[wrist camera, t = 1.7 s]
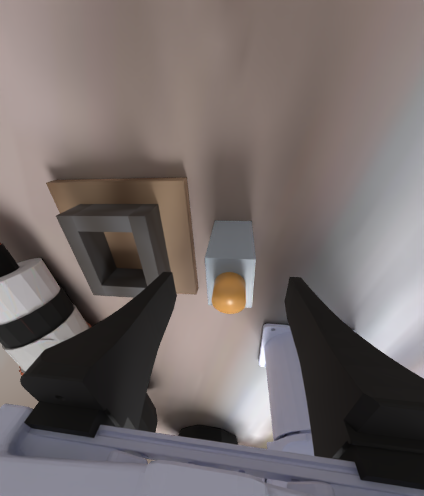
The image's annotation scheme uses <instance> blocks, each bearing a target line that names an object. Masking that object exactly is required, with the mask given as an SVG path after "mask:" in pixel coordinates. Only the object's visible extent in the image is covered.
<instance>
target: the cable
mask: <svg viewBox="0 0 424 496" xmlns="http://www.w3.org/2000/svg"><path fill="white" fill-rule="evenodd" d="M90 327H91V325H90V324H88V323H87V322H85V320H84V319H83V317H82V316H81V314H80V312H79V311H78V309H77V308H76V306H75V305H74V304H72V302H71V301H70V299H69V298H68V296H67V294H66V293H65V291H64V290H63V288H62V287H61V286H59V285H58V284H57V282H56V281H55V279H54V278H53V276H52V274H51V273H50V271H49V270H48V268H47V267H46V265H45V264H44V262H43V261H42V259H41V258H35V259H30V260H25V261H22V262H18V263H16V261H15V260H14V259H13V257H12V256H11V254H10V253H9V252H8V250H7V249H6V248H5V246H4V245H3V244H1V243H0V343H1V344H2V347H3V349H4V350H5V351H6V352H7V353H8V354H9V355H10V356H11V357H12V358H13V359H14V360H15V361H16V363H17V364H18V365H19V368H20V370H19V372H21V375H23V374H24V373H25V372H26V371H27V369H28V368H29V367H30V366H31V365H32V364H33V362H34V361H35V360H36V359H37V358H38V357H39V356H40V354H41V353H42V352H43V351H44V350H45V349H47V348H50V347H52V346H54V345H56V344H58V343H61V342H63V341H65V340H67V339H69V338H71V337H73V336H75V335H77V334H79V333H81V332H83V331H85V330H87V329H89V328H90ZM156 426H157V414H156V408H155V406H154V405H153V403H152V401H151V399H150V398H149V396H148V394H147V393H146V397H145V401H144V405H143V410H142V414H141V419H140V423H139V428H138V430H141V431H148V432H154V433H155V431H156Z"/></svg>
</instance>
